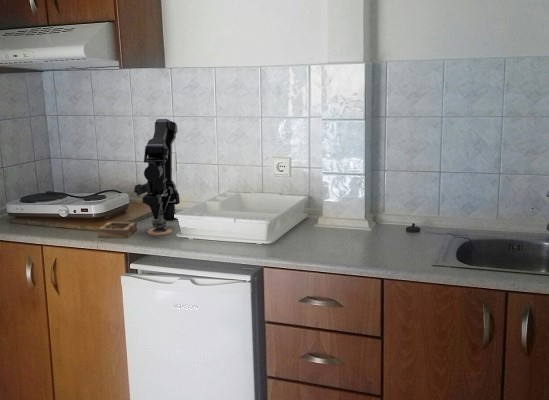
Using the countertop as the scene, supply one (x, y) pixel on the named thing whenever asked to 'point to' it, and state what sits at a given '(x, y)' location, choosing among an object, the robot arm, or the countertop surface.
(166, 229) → the coaster
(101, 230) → the walnut holder
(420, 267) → the countertop surface
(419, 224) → the countertop surface
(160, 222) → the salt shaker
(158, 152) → the robot arm
